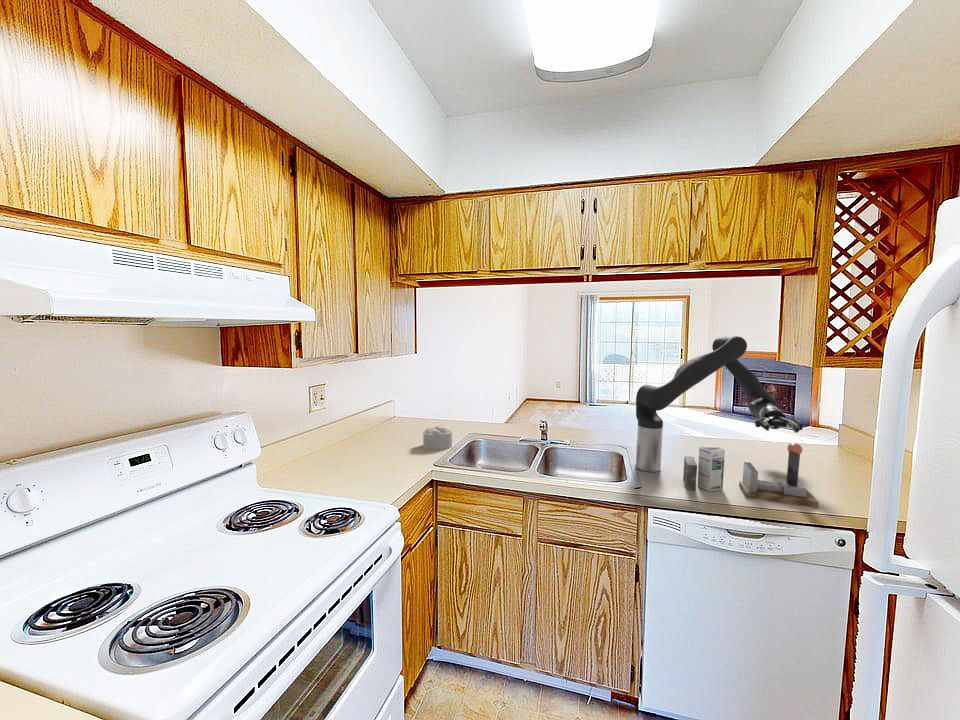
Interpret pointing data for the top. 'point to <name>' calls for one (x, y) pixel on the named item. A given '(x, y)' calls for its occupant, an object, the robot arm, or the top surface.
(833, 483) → the top surface
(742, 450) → the top surface
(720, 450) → the syrup box
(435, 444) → the lumpy-topped squat cylinder
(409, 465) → the top surface
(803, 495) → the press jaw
